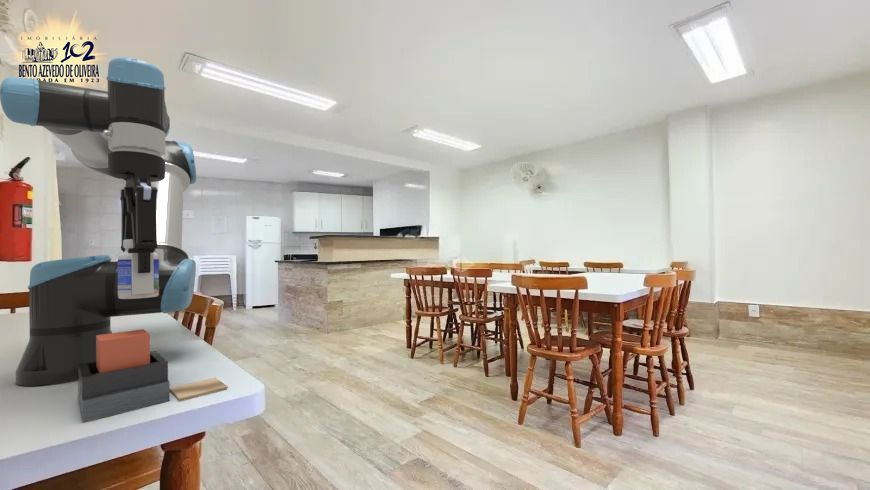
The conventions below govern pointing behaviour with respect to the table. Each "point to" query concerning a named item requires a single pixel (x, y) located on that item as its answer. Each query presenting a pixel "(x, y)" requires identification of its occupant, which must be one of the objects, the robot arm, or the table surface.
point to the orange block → (122, 350)
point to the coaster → (197, 389)
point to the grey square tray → (122, 388)
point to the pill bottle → (126, 274)
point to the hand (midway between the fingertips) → (138, 292)
